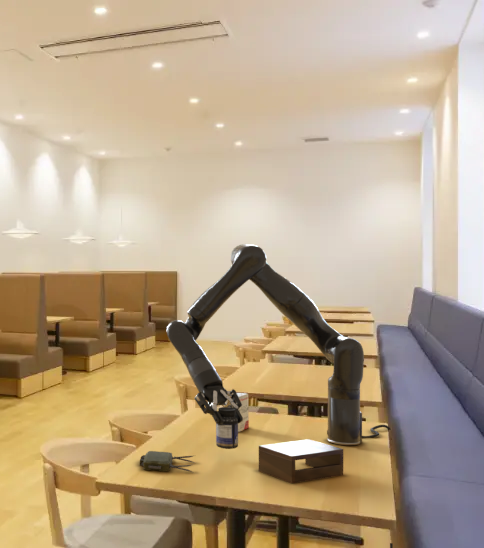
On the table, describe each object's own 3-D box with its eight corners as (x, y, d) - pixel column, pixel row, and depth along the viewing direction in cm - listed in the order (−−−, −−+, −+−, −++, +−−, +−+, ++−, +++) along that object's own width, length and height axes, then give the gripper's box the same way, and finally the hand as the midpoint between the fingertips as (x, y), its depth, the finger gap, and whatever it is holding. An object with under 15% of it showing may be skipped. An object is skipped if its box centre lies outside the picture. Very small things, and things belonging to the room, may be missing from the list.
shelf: (308, 463, 204) (308, 439, 204) (343, 475, 193) (343, 449, 193) (258, 471, 197) (258, 445, 197) (291, 483, 186) (291, 456, 186)
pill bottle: (228, 443, 215) (228, 405, 214) (242, 447, 209) (242, 409, 209) (211, 445, 212) (211, 407, 212) (225, 450, 206) (225, 411, 206)
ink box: (235, 425, 252) (235, 391, 252) (249, 427, 249) (249, 393, 249) (225, 430, 245) (225, 395, 245) (239, 432, 242) (239, 396, 242)
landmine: (143, 448, 211) (196, 451, 207) (143, 457, 211) (196, 461, 207) (137, 460, 198) (194, 464, 194) (137, 470, 198) (194, 474, 194)
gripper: (190, 369, 214) (217, 417, 203) (229, 366, 220) (257, 413, 209) (179, 385, 219) (204, 432, 208) (217, 381, 225) (244, 427, 214)
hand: (230, 422), depth 209 cm, fingers closed on pill bottle, 6 cm apart
